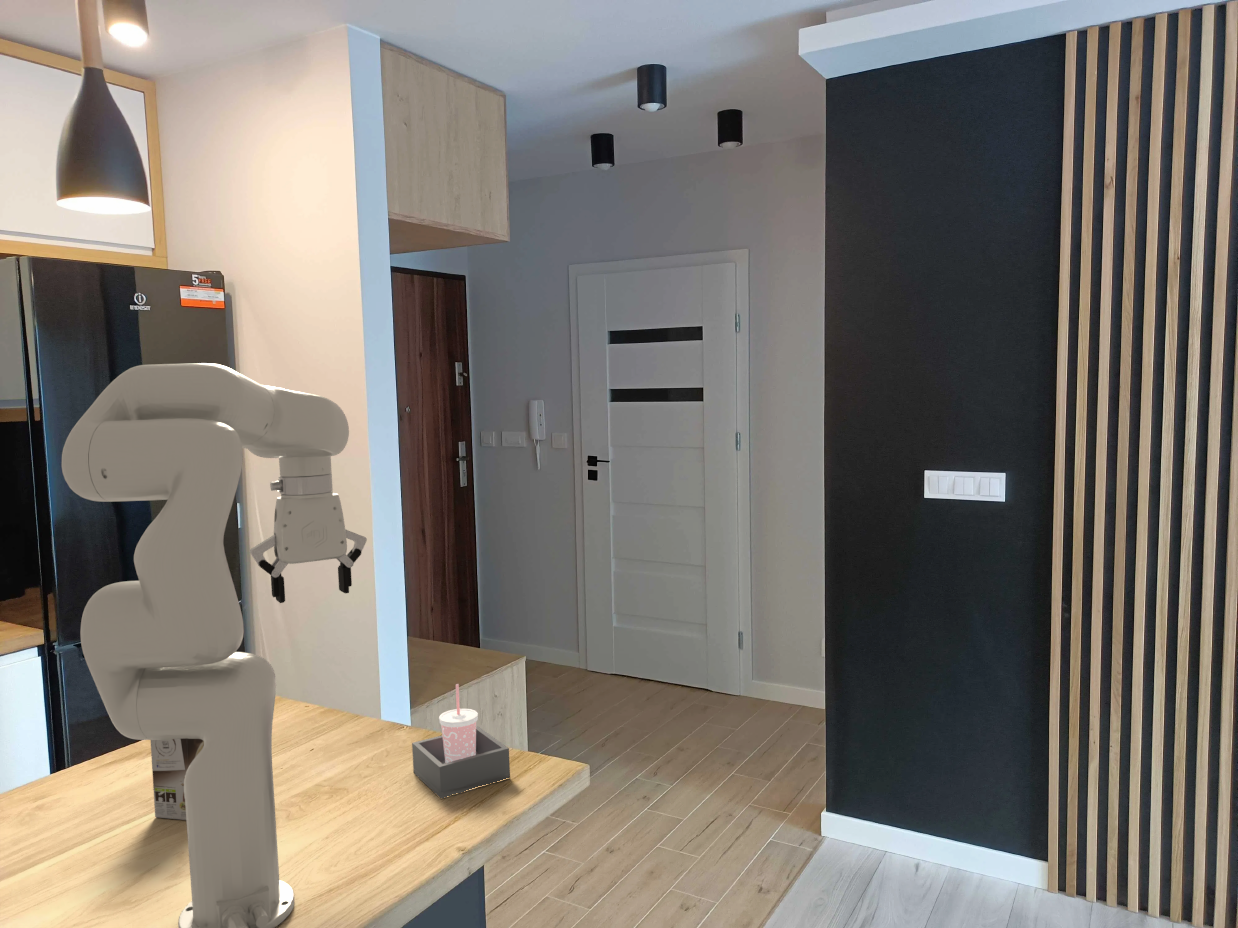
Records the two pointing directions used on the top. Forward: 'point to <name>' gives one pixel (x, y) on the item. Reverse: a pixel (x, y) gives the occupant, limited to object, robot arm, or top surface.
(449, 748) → the beverage cup
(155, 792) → the coffee box
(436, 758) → the crate
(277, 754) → the top surface
